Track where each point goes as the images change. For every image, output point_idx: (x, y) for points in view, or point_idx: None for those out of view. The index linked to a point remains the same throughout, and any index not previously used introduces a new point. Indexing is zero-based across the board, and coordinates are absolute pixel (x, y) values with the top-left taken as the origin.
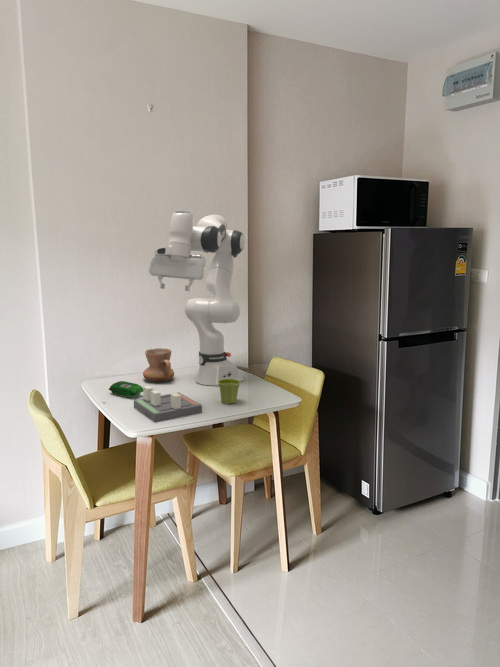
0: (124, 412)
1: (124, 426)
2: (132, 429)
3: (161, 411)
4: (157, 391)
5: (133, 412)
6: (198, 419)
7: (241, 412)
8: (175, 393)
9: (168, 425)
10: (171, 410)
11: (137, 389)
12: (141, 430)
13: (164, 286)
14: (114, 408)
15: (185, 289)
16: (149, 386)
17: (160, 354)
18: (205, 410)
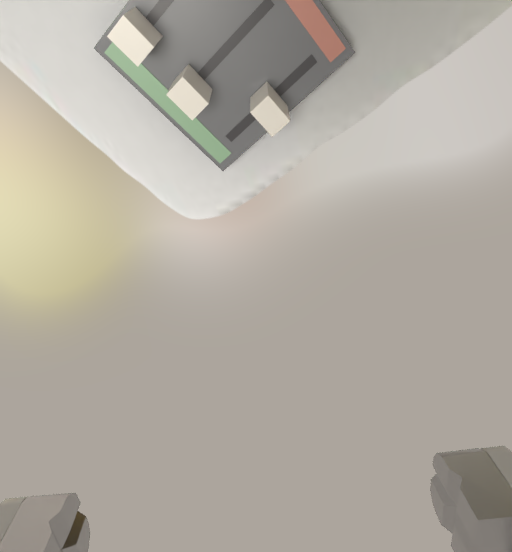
0: (100, 99)
1: (161, 200)
2: (189, 213)
3: (234, 143)
4: (191, 91)
5: (127, 93)
6: (344, 114)
7: (495, 11)
8: (265, 101)
9: (268, 174)
10: (261, 128)
11: None
12: (213, 215)
13: (48, 523)
14: (45, 66)
15: (441, 506)
16: (130, 26)
17: None
18: (361, 17)
